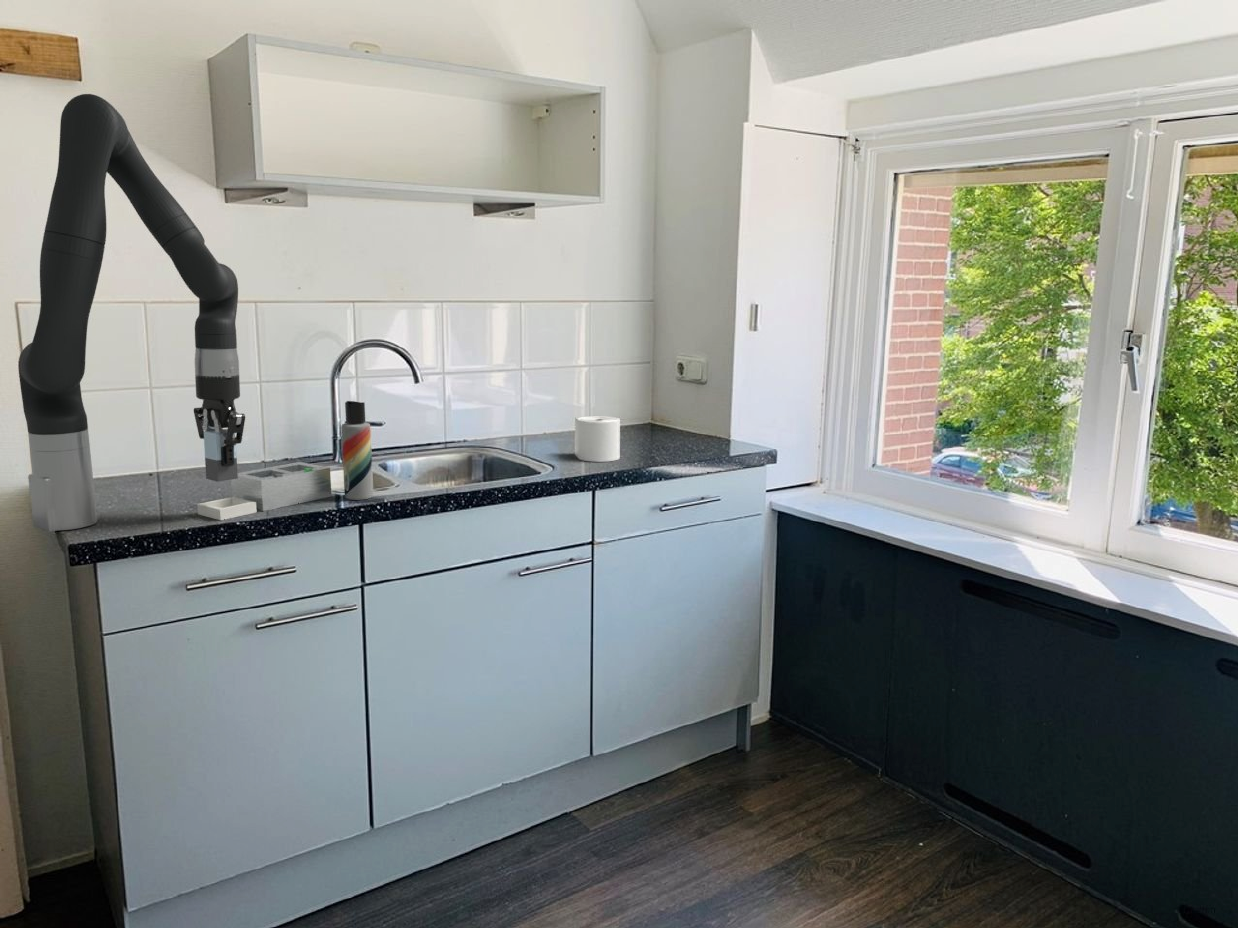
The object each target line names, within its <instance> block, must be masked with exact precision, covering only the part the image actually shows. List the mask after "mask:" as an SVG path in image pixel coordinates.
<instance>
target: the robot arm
mask: <svg viewBox="0 0 1238 928" xmlns="http://www.w3.org/2000/svg"><path fill="white" fill-rule="evenodd" d="M59 125H60V126H59V127H60V128H59V147H58V164H57V169H56V170H57V172H56V178H55V180H54V181H55V182H54V186H53V188H52V189H53V190H52V194H51V198H50V202H49V208H48V214H47V217H46V218H47V219H46V222H45V228H44V232H43V237H42V242H41V249H40V257H39V288H40V290H39V291H40V293H39V294H40V307H39V315H38V320H37V324H36V328H35V332H34V336H33V338H32V342H30V343H28V345H26V346H25V347H24V348H23V349H22V351H21V352H20V354H19V356H18V361H17V362H18V364H17V365H18V377H19V387H20V392H21V394H20V395H21V400H22V401H21V402H22V408H23V413H24V418H25V423H26V426H27V434H28V444H29V451H30V461H31V462H30V463H31V469H32V473H30V474H28V476H27V477H28V478H27V479H28V486H29V487H28V488H29V496H30V504H31V513H32V521H33V523H32V524H33V527H34V528H37V529H39V530H40V529H41V530H43V531H46V532H49V533H51V532H57V531H68V530H69V531H70V530H76V529H81V528H85V527H89V526H92V525H95V524H97V523H98V510H97V504H96V494H95V485H94V484H95V483H94V476H93V475H94V474H93V466H92V456H91V455H92V454H91V446H90V445H91V444H90V435H89V424H88V416H87V413H86V410H85V407H84V402H83V397H82V390H81V382H82V380H83V378H84V375H85V370H86V351H87V350H86V349H87V338H88V337H87V333H88V324H89V317H90V313H91V309H92V306H93V303H94V298H95V295H96V290H97V287H98V286H97V285H98V282H99V278H100V273H101V270H102V269H101V268H102V264H103V259H104V253H105V248H106V241H107V208H106V197H105V196H106V195H105V192H106V191H105V189H106V188H105V187H106V178H107V174H108V175H109V176H110V177H111V178H112V179H113V181H114V182H115V183H116V184H117V186H119V188H120V189H121V190H122V191H123V193H124V195H125V196H126V197H127V199H128V200H129V203H130V204H131V205H132V207H133V208H134V210H135V211H136V213H137V215H138V217H139V218H140V219H141V221H142V223H143V224H144V226H145V227H146V229H147V230H148V231H149V233H150V234H151V235H152V236H153V238H154V239H155V240H156V242H157V244H159V246H160V247H161V248H162V249H163V251H164V252H165V253H166V254H167V256H169V257H168V258H170V260H171V261H172V263H173V265H174V267H175V269H176V270H177V271H176V272H178V274H179V276H180V277H181V279H182V281H183V282H184V284H185V285H186V286H187V288H188V289H189V290H190V291H191V293H192V294H193V295H194V296H195V297H197V298H198V303H199V304H198V311H199V312H198V317H197V318H196V319H195V322H194V342H195V343H194V345H195V348H194V349H195V353H194V376H195V377H194V378H195V397H196V398H197V399H199V400H201V401H202V406H201V407H194V408H193V414H194V419H195V424H196V428H197V433H198V436H199V437H198V438H199V440H200V439H201V440H202V439H203V440H204V431H215V430H216V433H217V434H219V435H220V443H221V446H222V447H221V464H222V466H225V467H227V466H233V465H234V445H236V446H237V445H238V444H241V443H242V441H243V435H244V434H243V433H244V428H245V422H246V414H245V413H238V412H237V410H236V405H235V400H237V399H239V398H240V396H241V387H240V385H241V384H240V381H241V380H240V361H239V354H238V349H237V348H238V343H237V328H236V316H237V311H238V300H239V285H238V279H237V276H236V274H235V272H234V271H233V270H232V269H231V267H229V266H228V265H226V264H224V263H220V262H219V261H218V260H217V259H216V258H215V257H214V255H213V254H212V252H211V251H210V249H209V248H208V246H207V245H206V244H205V237H204V236H203V234H202V233H201V231H200V230H199V228H198V227H197V225H196V224H195V223H194V221H193V220H192V219H191V217H190V216H189V215H188V214H187V212H186V211H185V209H184V208H183V207H182V206H181V204H179V202H178V201H177V200H176V198H175V197H174V196H173V195H172V194H171V193H170V191H169V190H168V189H167V188H166V187H165V185H164V184H163V183H162V182H161V180H160V179H159V178H158V177H157V176H156V174H155V173H154V171H153V170H152V169H151V168H150V166H149V164H148V163H147V161H146V160H145V157H144V156H143V155H142V153H141V151H140V149H139V148H138V146H137V144H136V142H135V140H134V139H133V136H132V135H131V132H130V131H129V128H128V126H127V123H126V120H125V119H124V118H123V116H122V115H121V113H119V111H118V110H117V109H116V108H115V107H114V106H113V105H112V104H111V103H110V102H109V101H107V100H106V99H104V98H103V97H101V96H99V95H95V94H93V93H82V94H78V95H76V96H74V97H73V98H71V99H70V100H69V101H68V102H67V103H66V104H65V106H64V107H63V110H62V112H61V116H60V124H59ZM235 433H236V437H235ZM225 434H227V436H226V438H225Z"/></svg>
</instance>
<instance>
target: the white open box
mask: <svg viewBox="0 0 1238 928" xmlns="http://www.w3.org/2000/svg"><path fill="white" fill-rule="evenodd" d="M196 506H197V515H200V516H204V517H207V518H211V519H214V520H219V521H225V520H228V519H234V518H236V517H241V516H247V515H251V514H256V513H257V512H258V510H256V502H253V501H248V500H244V499H240V498H236V497H232V496H231V497H225V498H221V499H220V498H219V499H216V500H215V499H214V500H211V501H206V502H200V503H197V505H196ZM224 519H225V520H224Z"/></svg>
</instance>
